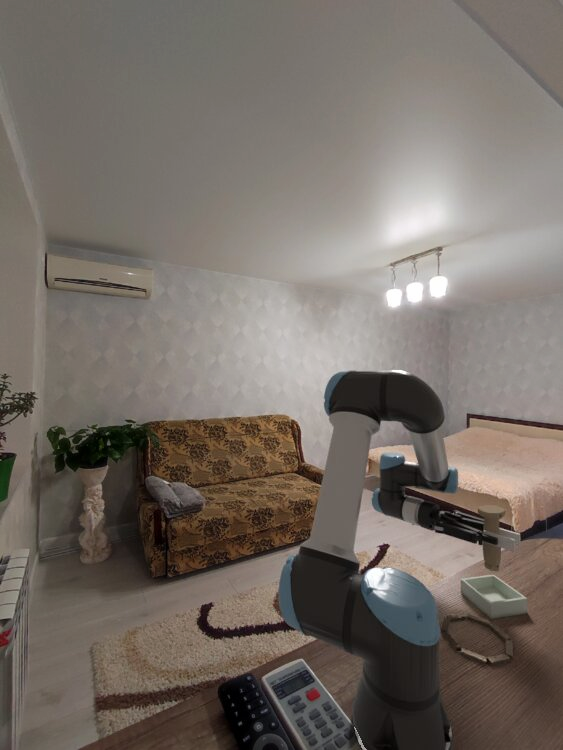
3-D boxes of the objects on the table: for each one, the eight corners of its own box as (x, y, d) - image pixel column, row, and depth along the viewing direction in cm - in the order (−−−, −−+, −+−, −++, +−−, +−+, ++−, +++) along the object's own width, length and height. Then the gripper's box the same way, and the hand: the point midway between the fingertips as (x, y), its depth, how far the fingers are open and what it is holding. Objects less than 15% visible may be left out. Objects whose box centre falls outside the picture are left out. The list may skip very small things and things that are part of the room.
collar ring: (471, 670, 65) (471, 666, 65) (429, 621, 78) (429, 618, 78) (529, 658, 68) (529, 654, 68) (479, 613, 81) (479, 610, 81)
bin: (491, 618, 79) (491, 603, 79) (460, 592, 89) (460, 578, 89) (527, 612, 81) (527, 598, 81) (493, 587, 91) (493, 574, 91)
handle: (510, 571, 84) (509, 510, 84) (491, 576, 81) (491, 514, 82) (492, 561, 88) (491, 503, 88) (474, 566, 86) (473, 507, 86)
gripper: (435, 518, 104) (527, 546, 86) (408, 535, 93) (506, 571, 75) (435, 493, 104) (526, 517, 86) (407, 507, 93) (506, 538, 75)
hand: (517, 542), depth 81 cm, fingers closed on handle, 3 cm apart
